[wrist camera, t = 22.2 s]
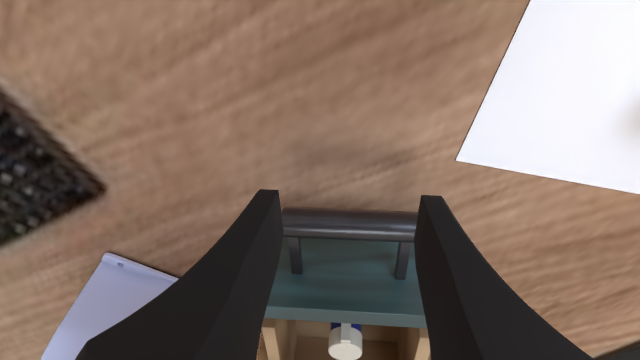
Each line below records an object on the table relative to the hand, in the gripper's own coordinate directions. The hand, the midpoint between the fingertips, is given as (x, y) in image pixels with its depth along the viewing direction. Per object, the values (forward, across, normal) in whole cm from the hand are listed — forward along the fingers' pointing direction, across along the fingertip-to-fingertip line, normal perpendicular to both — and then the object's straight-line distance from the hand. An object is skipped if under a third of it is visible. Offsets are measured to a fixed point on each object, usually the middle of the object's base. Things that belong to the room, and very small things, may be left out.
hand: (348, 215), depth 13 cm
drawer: (+10, 0, +14) cm, 17 cm away
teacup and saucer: (+11, -18, -3) cm, 21 cm away
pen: (+8, 0, +14) cm, 17 cm away
